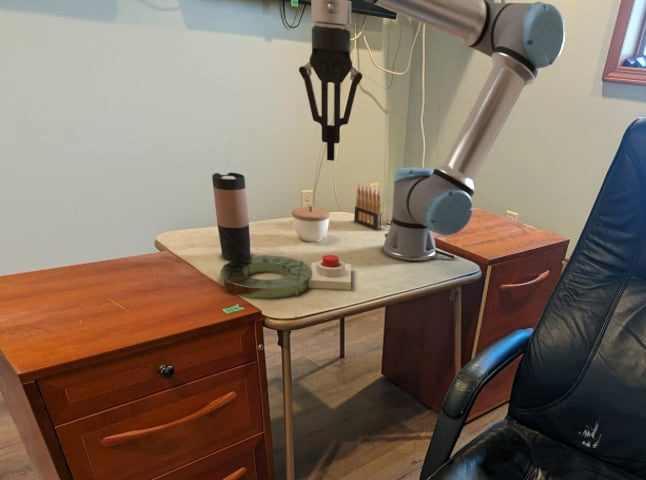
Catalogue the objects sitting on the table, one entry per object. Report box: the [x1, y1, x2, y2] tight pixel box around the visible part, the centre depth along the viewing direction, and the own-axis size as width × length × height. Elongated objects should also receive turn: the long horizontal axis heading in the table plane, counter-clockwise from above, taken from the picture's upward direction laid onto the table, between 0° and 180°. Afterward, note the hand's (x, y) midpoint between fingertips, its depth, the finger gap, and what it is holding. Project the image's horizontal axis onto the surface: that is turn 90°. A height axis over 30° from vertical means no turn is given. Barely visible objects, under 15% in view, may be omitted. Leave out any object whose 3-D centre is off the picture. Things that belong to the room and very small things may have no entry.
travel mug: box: [211, 172, 252, 262], centre depth 130 cm, size 8×8×20 cm
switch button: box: [321, 254, 340, 268], centre depth 126 cm, size 4×4×2 cm
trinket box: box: [291, 205, 330, 243], centre depth 151 cm, size 11×11×9 cm
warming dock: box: [219, 254, 312, 300], centre depth 124 cm, size 21×21×2 cm
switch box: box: [308, 259, 352, 291], centre depth 128 cm, size 10×12×4 cm
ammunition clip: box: [353, 183, 382, 231], centre depth 166 cm, size 11×2×12 cm, turn 49°
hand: (330, 159), depth 113 cm, fingers closed
